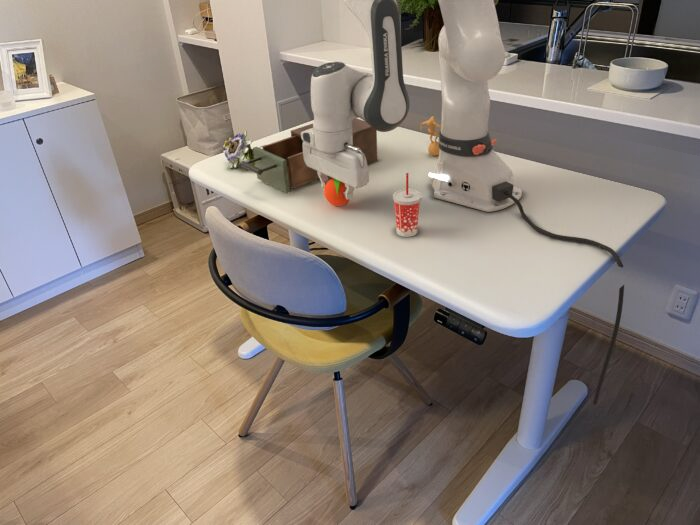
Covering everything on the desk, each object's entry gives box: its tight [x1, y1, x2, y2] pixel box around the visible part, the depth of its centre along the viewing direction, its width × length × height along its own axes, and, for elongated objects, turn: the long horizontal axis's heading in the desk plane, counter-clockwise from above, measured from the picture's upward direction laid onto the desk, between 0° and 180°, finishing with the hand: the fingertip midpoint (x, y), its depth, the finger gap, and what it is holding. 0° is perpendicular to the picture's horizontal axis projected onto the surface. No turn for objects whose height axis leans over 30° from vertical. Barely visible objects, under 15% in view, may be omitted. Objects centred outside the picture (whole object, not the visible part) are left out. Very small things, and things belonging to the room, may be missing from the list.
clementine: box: [323, 178, 351, 207], centre depth 132 cm, size 8×7×7 cm
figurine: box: [419, 115, 441, 157], centre depth 153 cm, size 8×6×12 cm
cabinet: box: [290, 118, 378, 180], centre depth 153 cm, size 19×15×11 cm
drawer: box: [240, 135, 320, 194], centre depth 144 cm, size 23×13×9 cm, turn 131°
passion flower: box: [222, 129, 266, 169], centre depth 156 cm, size 11×11×12 cm
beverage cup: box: [392, 172, 422, 238], centre depth 118 cm, size 6×6×14 cm
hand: (336, 192), depth 132 cm, fingers closed on clementine, 7 cm apart
